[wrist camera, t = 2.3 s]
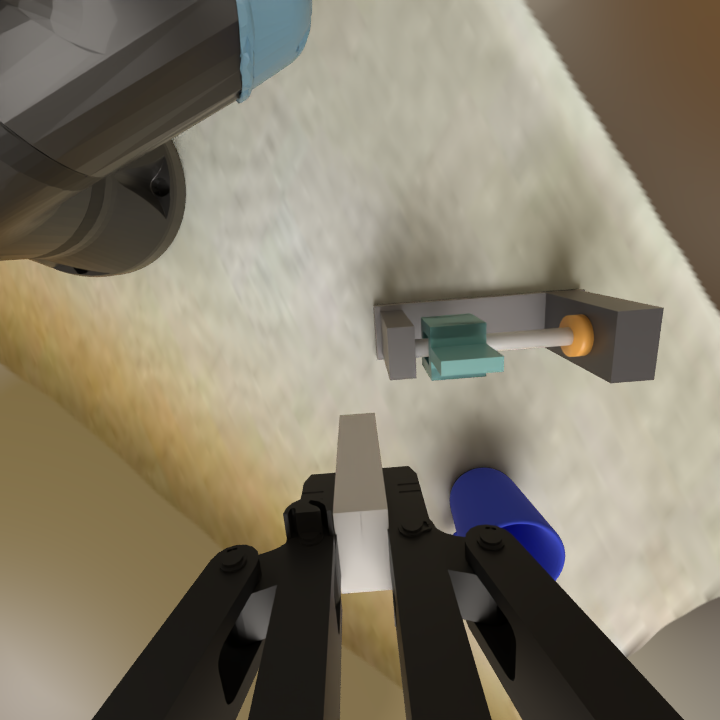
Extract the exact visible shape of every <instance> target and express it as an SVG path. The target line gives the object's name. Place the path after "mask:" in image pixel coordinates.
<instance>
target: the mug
mask: <svg viewBox="0 0 720 720" xmlns="http://www.w3.org/2000/svg"><path fill="white" fill-rule="evenodd" d="M450 507H451V512H452V516H453V520H454V524H455V528H456V532H455V533H454V534H453V535H455V536H461V537H465V536H466V533H467V532H468V531H469V529H470V528H473V527H475V526H477V525H485V524H488V525H495V526H498V527H501V528H503V529H505V530H507V531H508V532H509V533H511V534H512V535H513V536H514V537H515V538H516V539H517V540H518V541H519V542H520V543H521V545H522V546H523V547H524V548H525V549H526V550H527V551H528V552H529V553H530V554H531V555H532V556H533V558H534V559H535V560H536V561H537V562H538V563H539V564H540V565H541V566H542V567H543V568H544V569H545V570H546V572H547V573H548V574H549V575H550V576H551V577H552V578H553V579H554V580H555V581H556V579H557V578H558V577H559V575H560V573H561V571H562V569H563V566H564V562H565V550H564V545H563V543H562V540H561V539H560V537H559V535H558V534H557V533H556V532H555V530H554V529H553V528H552V527H551V526H550V525H549V523H548V522H547V521H546V520H545V519H544V518H543V516H542V515H541V514H540V513H539V512H538V510H537V509H536V508H535V507H534V506H533V505H532V503H531V502H530V501H529V500H528V499H527V498H526V496H525V495H524V494H523V493H522V492H521V491H520V489H519V488H518V487H517V486H516V485H515V483H514V482H513V481H512V480H511V479H510V478H509V477H508V476H506V475H505V474H504V473H502V472H500V471H498V470H496V469H492V468H476V469H472V470H470V471H468V472H466V473H464V474H463V475H461V476H460V477H459V478H458V479H457V480H456V482H455V483H454V485H453V487H452V490H451V493H450Z"/></svg>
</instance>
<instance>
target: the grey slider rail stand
mask: <svg viewBox="0 0 720 720" xmlns="http://www.w3.org/2000/svg"><path fill="white" fill-rule="evenodd" d="M663 309H664V308H662V307H657V306H652V305H648V304H643V303H638V302H633V301H628V300H624V299H619V298H614V297H609V296H605V295H600V294H595V293H590V292H586V291H585V290H584V289H571V290H559V291H546V292H534V293H521V294H509V295H496V296H483V297H471V298H458V299H446V300H433V301H420V302H408V303H395V304H383V305H374V318H375V333H376V348H377V359H378V360H382V359H384V361H385V364H386V368H387V371H388V375H389V378H390V380H400V379H413V378H416V357H428V356H429V347H428V338H425V339H422V337H421V317H430V316H443V315H456V314H468V313H471V314H473V315H474V316H476V317H478V318H479V319H481V320H483V321H484V322H486V323H487V327H486V343H487V344H488V345H489V346H491V347H492V348H493V349H495V350H496V351H504V350H517V349H529V348H542V347H545V348H547V349H549V350H550V351H552V352H554V353H556V354H558V355H560V356H561V357H563V358H565V359H567V360H569V361H571V362H573V363H574V364H576V365H578V366H580V367H582V368H584V369H585V370H587V371H589V372H591V373H593V374H595V375H596V376H598V377H600V378H602V379H604V380H606V381H608V382H609V383H619V382H632V381H645V380H654V376H655V368H656V361H657V353H658V346H659V338H660V331H661V323H662V316H663Z"/></svg>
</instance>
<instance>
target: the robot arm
mask: <svg viewBox="0 0 720 720" xmlns="http://www.w3.org/2000/svg"><path fill="white" fill-rule="evenodd" d="M311 15H312V0H0V261H2V260H18V259H29V260H32V261H35V262H38V263H40V264H43V265H46V266H49V267H51V268H54V269H56V270H59V271H62V272H66V273H69V274H73V275H79V276H87V277H106V276H114V275H121V274H126V273H130V272H134V271H137V270H139V269H141V268H143V267H146V266H147V265H149V264H151V263H152V262H154V261H155V260H156V259H157V258H159V257H160V256H161V255H162V254H163V253H164V252H165V251H166V250H167V248H168V247H169V246H170V244H171V243H172V242H173V240H174V238H175V236H176V235H177V232H178V230H179V228H180V225H181V222H182V219H183V214H184V209H185V198H186V190H185V180H184V174H183V169H182V165H181V162H180V159H179V156H178V153H177V151H176V149H175V147H174V144H173V143H172V141H171V139H172V138H174V137H175V136H177V135H179V134H181V133H182V132H184V131H186V130H187V129H189V128H191V127H192V126H194V125H196V124H197V123H199V122H201V121H202V120H204V119H206V118H207V117H209V116H211V115H212V114H214V113H216V112H217V111H219V110H221V109H223V108H224V107H226V106H228V105H229V104H231V103H233V102H234V101H237V102H238V103H241V102H243V101H245V100H246V99H247V98H248V97H249V96H250V93H251V90H252V89H254V88H255V87H257V86H258V85H260V84H261V83H263V82H264V81H265V80H267V79H268V78H270V77H271V76H273V75H274V74H276V73H277V72H279V71H280V70H282V69H283V68H285V67H286V66H288V65H289V64H291V63H292V62H293V61H294V60H295V59H296V58H297V57H298V56H299V55H300V54H301V52H302V50H303V49H304V47H305V44H306V41H307V38H308V35H309V32H310V24H311ZM283 516H284V523H285V530H286V536H287V541H286V543H285V544H284V545H282V546H280V547H279V548H277V549H274V550H272V551H269V552H266V553H263V554H260V555H258V551H257V550H256V549H255V548H253V547H252V546H248V545H235V546H232V547H229V548H226V549H224V550H223V551H221V552H219V553H218V554H217V555H216V556H215V557H214V558H213V559H212V560H211V561H210V562H209V563H208V565H207V566H206V567H205V569H204V570H203V572H202V573H201V574H200V575H199V577H198V578H197V579H196V581H195V582H194V584H193V585H192V586H191V587H190V589H189V590H188V592H187V593H186V594H185V596H184V597H183V598H182V600H181V601H180V602H179V604H178V605H177V607H176V608H175V609H174V610H173V612H172V613H171V614H170V616H169V617H168V618H167V620H166V621H165V622H164V624H163V625H162V626H161V628H160V629H159V630H158V632H157V633H156V634H155V636H154V637H153V638H152V640H151V641H150V642H149V644H148V645H147V647H146V648H145V649H144V650H143V652H142V653H141V654H140V656H139V657H138V658H137V660H136V661H135V662H134V664H133V665H132V666H131V668H130V669H129V670H128V672H127V673H126V674H125V676H124V677H123V679H122V680H121V681H120V683H119V684H118V685H117V686H116V688H115V689H114V690H113V692H112V693H111V695H110V696H109V697H108V699H107V700H106V701H105V703H104V704H103V705H102V707H101V708H100V709H99V711H98V712H97V713H96V715H95V716H94V717H93V719H92V720H236V718H237V716H238V713H239V711H240V709H241V707H242V704H243V702H244V700H245V698H246V696H247V693H248V691H249V689H250V687H251V684H252V682H253V680H254V678H255V676H256V673H257V671H258V669H259V671H258V676H257V681H256V685H255V690H254V694H253V699H252V704H251V709H250V713H249V718H248V720H340V685H341V684H340V683H341V682H340V681H341V641H342V603H341V592H342V593H355V592H368V591H381V590H393V604H394V619H395V627H396V631H397V640H398V649H399V658H400V667H401V676H402V685H403V693H404V703H405V712H406V720H492V719H491V716H490V712H489V709H488V705H487V702H486V699H485V695H484V692H483V688H482V685H481V681H480V678H479V675H478V671H477V668H476V664H475V661H474V657H473V654H472V651H471V647H470V644H469V640H468V637H467V633H466V630H465V627H464V623H463V620H462V619H465V620H466V622H467V624H468V627H469V629H470V630H471V632H472V634H473V636H474V637H475V639H476V641H477V642H478V644H479V646H480V648H481V649H482V651H483V653H484V654H485V656H486V658H487V660H488V661H489V663H490V665H491V666H492V668H493V670H494V672H495V673H496V675H497V677H498V678H499V680H500V682H501V684H502V685H503V687H504V689H505V690H506V692H507V694H508V696H509V697H510V699H511V701H512V702H513V704H514V706H515V708H516V709H517V711H518V713H519V715H520V716H521V718H522V720H684V719H683V718H682V717H681V716H680V715H679V714H678V713H677V712H676V711H675V710H674V709H673V707H672V706H671V705H670V704H669V703H668V702H667V701H666V700H665V699H664V698H663V697H662V696H661V695H660V693H659V692H658V691H657V690H656V689H655V688H654V687H653V686H652V685H651V684H650V683H649V682H648V681H647V679H646V678H645V677H644V676H643V675H642V674H641V673H640V672H639V671H638V670H637V669H636V668H635V666H634V665H633V664H632V663H631V662H630V661H629V660H628V659H627V658H626V657H625V656H624V655H623V654H622V652H621V651H620V650H619V649H618V648H617V647H616V646H615V645H614V644H613V643H612V642H611V641H610V639H609V638H608V637H607V636H606V635H605V634H604V633H603V632H602V631H601V630H600V629H599V628H598V627H597V625H596V624H595V623H594V622H593V621H592V620H591V619H590V618H589V617H588V616H587V615H586V614H585V613H584V611H583V610H582V609H581V608H580V607H579V606H578V605H577V604H576V603H575V602H574V601H573V600H572V599H571V597H570V596H569V595H568V594H567V593H566V592H565V591H564V590H563V589H562V588H561V587H560V586H559V584H558V583H557V582H556V581H555V580H554V579H553V578H552V577H551V576H550V575H549V574H548V573H547V572H546V570H545V569H544V568H543V567H542V566H541V565H540V564H539V563H538V562H537V561H536V560H535V559H534V558H533V556H532V555H531V554H530V553H529V552H528V551H527V550H526V549H525V548H524V547H523V546H522V545H521V543H520V542H519V541H518V540H517V539H516V538H515V537H514V536H513V535H512V534H511V533H509V532H508V531H507V530H505V529H503V528H501V527H498V526H495V525H488V524H485V525H477V526H475V527H473V528H470V529H469V531H468V532H467V533H466V536H465V537H461V536H455V535H451V534H447V533H444V532H442V531H440V530H439V529H437V528H436V527H435V525H434V524H433V522H432V521H431V520H430V519H429V516H428V513H427V509H426V506H425V502H424V499H423V495H422V492H421V488H420V484H419V481H418V477H417V474H416V473H415V472H414V471H413V470H412V469H411V468H410V467H409V466H403V467H391V468H382V464H381V456H380V449H379V441H378V434H377V427H376V419H375V413H365V414H352V415H340V418H339V433H338V447H337V461H336V473H327V474H314V475H311V476H310V477H309V478H308V479H307V480H306V481H305V483H304V485H303V491H302V496H301V499H300V500H298V501H296V502H294V503H292V504H291V505H290V506H288V507H287V508H286V510H285V512H284V513H283Z"/></svg>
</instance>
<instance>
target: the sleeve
mask: <svg viewBox="0 0 720 720" xmlns="http://www.w3.org/2000/svg"><path fill="white" fill-rule="evenodd" d="M486 327H487V323H486V322H484V321H483V320H481V319H479V318H478V317H476V316H474V315H473V314H471V313H468V314H456V315H443V316H430V317H421V337H422V339H425V338H428V347H429V356H428V357H422V365H423V367H424V368H425V370H426V372H427V373H428V375H429V377H430V379H431V380H432V381H433V380H446V379H458V378H471V377H484V376H486V373H491V372H504V356H503V355H501V354H500V353H499V352H497V351H496V350H495V349H493V348H492V347H491V346H489V345H488V344H487V343H486Z"/></svg>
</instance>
